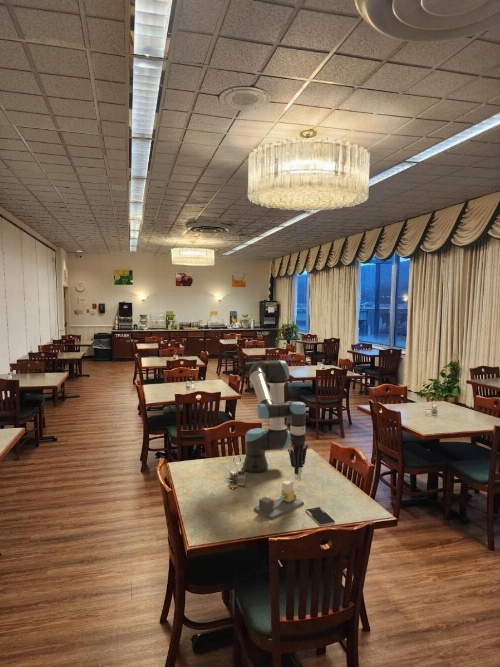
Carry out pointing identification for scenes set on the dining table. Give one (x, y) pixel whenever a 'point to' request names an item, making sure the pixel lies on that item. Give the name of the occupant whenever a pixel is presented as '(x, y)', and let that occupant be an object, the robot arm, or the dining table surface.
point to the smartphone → (320, 516)
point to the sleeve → (288, 490)
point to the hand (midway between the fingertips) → (298, 479)
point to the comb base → (277, 506)
